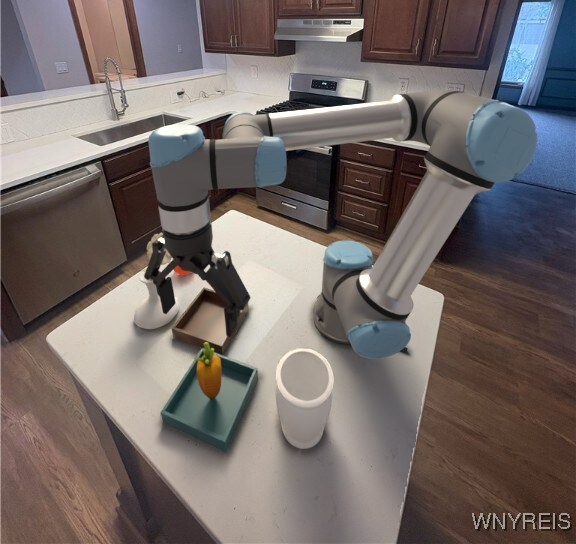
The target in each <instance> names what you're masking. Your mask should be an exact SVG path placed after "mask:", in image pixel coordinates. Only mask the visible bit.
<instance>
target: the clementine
mask: <svg viewBox="0 0 576 544" xmlns="http://www.w3.org/2000/svg"><path fill="white" fill-rule="evenodd" d="M172 271H174V273H175V274H176V275H179V276H187V275H189V274H190V273H191V272H190V271H184V270H182V268H180V267H179V266H178V265H177V266H176V267H175V268H174V269H173V270H172Z"/></svg>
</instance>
